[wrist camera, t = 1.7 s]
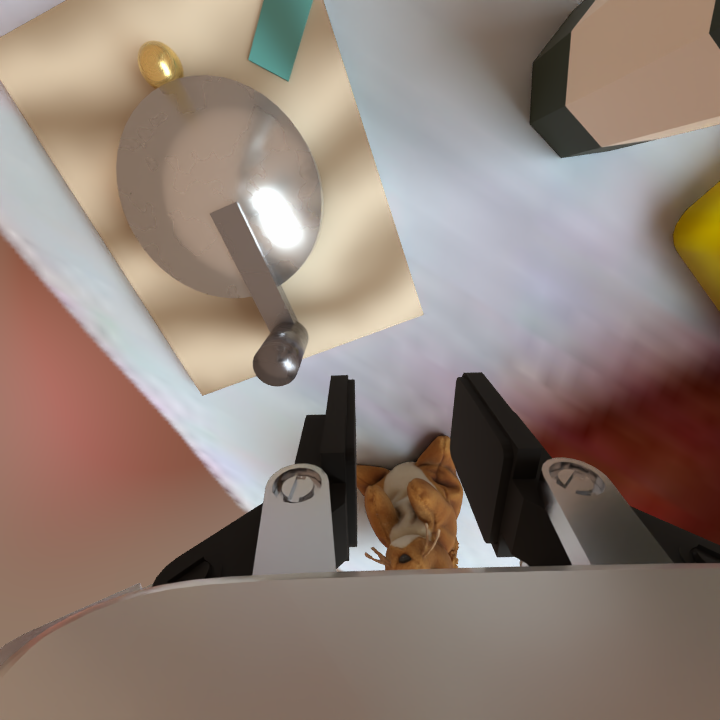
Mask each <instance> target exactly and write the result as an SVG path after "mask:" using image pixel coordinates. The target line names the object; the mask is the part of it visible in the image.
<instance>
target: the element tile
mask: <svg viewBox="0 0 720 720" xmlns="http://www.w3.org/2000/svg"><path fill="white" fill-rule="evenodd" d="M673 240H674V246H675V248H676V251H677V252H678V254H679V255H680V256H681V258H682V259H683V261H684V262H685V263H686V265H687V266H688V268H689V269H690V271H691V272H692V273H693V275H694V276H695V278H696V279H697V280H698V282H699V283H700V285H701V286H702V288H703V289H704V290H705V292H706V293H707V295H708V296H709V297H710V299H711V300H712V302H713V303H714V304H715V306H716V307H717V309H718V310H719V312H720V181H719V182H718V183H717V184H716V185H715V186H713V187H712V188H711V189H710V190H709V191H708V192H707V193H705V194H704V195H703V196H702V197H701V198H700V199H698V200H697V201H696V202H695V203H694V204H693V205H692V206H690V207H689V208H688V209H687V210H686V211H685V212H684V214H683V215H682V216H681V218H680V220H679V221H678V223H677V224H676V226H675V230H674V233H673Z"/></svg>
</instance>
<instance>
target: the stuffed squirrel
mask: <svg viewBox="0 0 720 720" xmlns="http://www.w3.org/2000/svg"><path fill="white" fill-rule="evenodd" d="M356 471H357V488H358V489H359V490H360V492H361V493H362V494H363V496H365V499H364V500H365V509H366V513H367V516H368V519H369V521H370V524H371V526H372V529H373V530H374V532H375V534H376V536H377V537H378V539H379V540H380V541H381V543H382V544H383V545H384V546H385V547H387V548H388V549H387V551H386V557H385V556H383V555H382V554H381V553H380V552H378V551H377V550H376V549H375V548H374V547H372V548H371V549H372V550H373V551H374V552H375V553H376V554H377V555H378V556H379V558H380V560H377V559H374V558H372V556H370V555H369V554H367V553H366V552H365V556H366V557H368V558H369V559H372V560H374V561H376V562H378V563H380V564H383V565H385V570H411V569H447V568H458V566H457V565H456V564H458V558H456V555H457V550H458V548H459V547H458V544H459V543H458V541H457V537H456V533H457V522H456V520H457V517H458V515H459V513H460V509H461V504H462V498H463V489H462V486H461V483H460V481H459V480H458V478H457V476H456V471H455V466H454V463H453V461H452V458H451V455H450V438H449V437H448V436H438V437H437V438H436V439H435V440H434V441H433V442H432V443H431V444H430V445H429V446H428V447H427V449H426V450H425V451H424V452H423V453H422V454H421V456H420V457H419V458H418V460H417V462H405V463H402V464H399V465H397V466H396V467H394V468H393V470H392V471H390V470H387V469H385V468H381V467H374V466H367V465H356Z"/></svg>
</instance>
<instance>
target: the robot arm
mask: <svg viewBox="0 0 720 720" xmlns="http://www.w3.org/2000/svg"><path fill="white" fill-rule="evenodd" d="M450 455H451V458H452V461H453V463H454V466H455V468H456V471H457V473H458V476H459V478H460V481H461V483H462V486H463V488H464V491H465V493H466V496H467V498H468V501H469V503H470V506H471V509H472V511H473V514H474V516H475V519H476V521H477V524H478V526H479V529H480V531H481V534H482V536H483V539H484V541H485V542H486V543H491V544H492V546H493V549H494V551H495V554H496V556H497V557H516V558H518V559H520V567H485V568H447V569H411V570H379V571H347V572H336V569H337V568H338V567H339V566H340V565H341V564H342V563H343V562H344V561H349V547H357V471H356V419H355V380H348V375H339V376H331V381H330V388H329V395H328V402H327V409H326V415H307V416H306V418H305V422H304V427H303V431H302V435H301V439H300V444H299V448H298V452H297V456H296V460H295V464H294V465H289V466H287V467H284V468H282V469H280V470H279V471H277V472H276V473H274V474H273V475H272V476H271V478H270V479H269V480H268V482H267V485H266V488H265V494H264V501H263V503H262V504H261V505H259V506H258V507H256V508H254V509H253V510H251V511H250V512H248V513H247V514H245V515H243V516H242V517H240V518H239V519H237V520H236V521H234V522H232V523H231V524H230V525H228V526H226V527H225V528H223V529H221V530H220V531H219V532H217V533H215V534H214V535H212V536H210V537H209V538H208V539H206V540H204V541H203V542H201V543H200V544H198V545H196V546H195V547H193V548H192V549H190V550H189V551H187V552H186V553H184V554H182V555H181V556H179V557H178V558H176V559H175V560H174V561H172V562H171V563H170V564H169V565H167V566H166V567H165V568H164V569H163V570H162V572H161V573H160V574H159V575H158V576H157V577H156V580H155V581H154V583H153V584H151V585H149V586H147V587H144V588H142V587H141V584H140V583H139V584H136V585H134V586H132V587H130V588H127V589H125V590H123V591H120V592H118V593H116V594H114V595H111V596H109V597H107V598H104V599H102V600H100V601H98V602H95V603H93V604H91V605H89V606H86V607H84V608H82V609H80V610H77V611H75V612H73V613H70V614H68V615H66V616H64V617H61V618H59V619H57V620H55V621H52V622H50V623H48V624H45V625H43V626H41V627H39V628H36V629H34V630H32V631H30V632H27V633H26V634H23V635H21V636H20V637H18V638H16V639H14V640H13V641H11V642H9V643H7V644H5V645H4V646H3V647H2V648H1V649H0V720H720V546H719V545H718V544H715V543H713V542H711V541H708V540H706V539H704V538H702V537H699V536H697V535H695V534H692V533H690V532H688V531H686V530H683V529H681V528H679V527H676V526H674V525H672V524H670V523H667V522H665V521H663V520H660V519H658V518H656V517H654V516H651V515H649V514H647V513H644V512H642V511H640V510H638V509H635V508H633V507H631V506H629V504H628V503H627V502H626V501H625V499H624V498H623V497H622V495H621V494H620V493H619V492H618V490H617V489H616V488H615V486H614V485H613V484H612V482H611V481H610V480H609V479H608V478H607V477H606V476H605V475H604V474H603V473H602V472H600V471H599V470H597V469H596V468H594V467H593V466H591V465H588V464H586V463H584V462H581V461H578V460H575V459H569V458H553V459H552V458H551V456H550V455H549V454H548V453H547V451H546V450H545V449H544V448H543V446H542V445H541V444H540V443H539V441H538V440H537V439H536V438H535V436H534V435H533V434H532V433H531V431H530V430H529V429H528V428H527V427H526V425H525V424H524V423H523V422H522V420H521V419H520V418H519V417H518V415H517V414H516V413H515V412H514V411H512V409H511V408H510V407H509V406H508V404H507V403H506V402H505V401H504V399H503V398H502V397H501V396H500V394H499V393H498V392H497V391H496V389H495V388H494V387H493V386H492V384H491V383H490V382H489V380H488V379H487V378H486V377H485V375H484V374H483V373H482V372H481V373H464V374H463V375H462V377H458V378H457V380H456V389H455V398H454V408H453V418H452V428H451V437H450Z"/></svg>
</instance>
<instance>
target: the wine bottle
mask: <svg viewBox="0 0 720 720" xmlns="http://www.w3.org/2000/svg"><path fill="white" fill-rule="evenodd" d="M719 124H720V0H584V1H583V2H582V3H581V4H580V5H579V6H577V7H576V8H575V9H574V10H573V12H572V13H571V14H570V15H569V17H568V18H567V19H566V21H565V22H564V23H563V25H562V26H561V27H560V29H559V30H558V31H557V32H556V34H555V35H554V36H553V38H552V39H551V40H550V42H549V43H548V44H547V46H546V47H545V48H544V49H543V51H542V52H541V53H540V55H539V56H538V57H537V59H536V60H535V61H534V62H533V70H532V90H531V110H530V125H531V126H532V127H533V128H534V129H535V130H536V131H537V132H538V133H539V134H540V135H541V136H542V138H543V139H544V140H545V141H546V142H547V143H548V144H549V145H550V146H551V147H552V148H553V149H554V151H555V152H556V153H557V154H558V155H559V156H560V157H561V158H564V157H571V156H578V155H585V154H592V153H599V152H605V151H611V150H615V149H619V148H623V147H628V146H632V145H636V144H640V143H644V142H648V141H652V140H657V139H661V138H665V137H669V136H673V135H677V134H681V133H685V132H690V131H694V130H698V129H702V128H706V127H710V126H714V125H719Z"/></svg>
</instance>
